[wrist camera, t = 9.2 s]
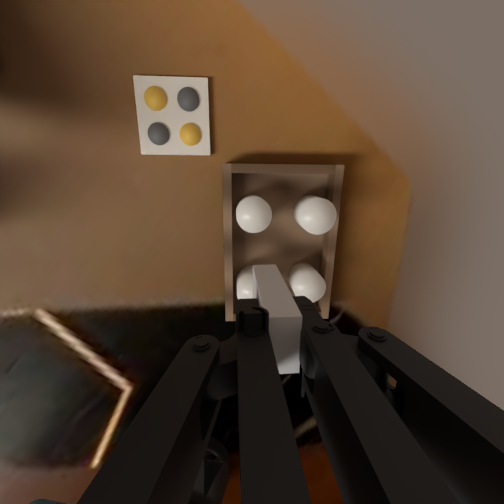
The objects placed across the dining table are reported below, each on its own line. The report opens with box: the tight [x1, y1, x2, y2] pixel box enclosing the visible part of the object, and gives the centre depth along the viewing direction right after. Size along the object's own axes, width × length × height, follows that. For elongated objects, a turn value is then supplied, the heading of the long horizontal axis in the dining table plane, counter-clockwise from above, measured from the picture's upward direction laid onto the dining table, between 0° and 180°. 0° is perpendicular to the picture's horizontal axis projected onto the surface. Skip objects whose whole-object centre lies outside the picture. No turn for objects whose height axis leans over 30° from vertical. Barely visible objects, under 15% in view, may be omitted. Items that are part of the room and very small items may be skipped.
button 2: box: [293, 195, 337, 235], centre depth 30 cm, size 4×4×4 cm
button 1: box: [288, 262, 326, 303], centre depth 34 cm, size 4×4×4 cm
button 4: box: [236, 194, 272, 233], centre depth 31 cm, size 4×4×4 cm
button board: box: [222, 164, 345, 321], centre depth 34 cm, size 20×14×3 cm
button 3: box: [237, 266, 253, 300], centre depth 32 cm, size 4×4×4 cm
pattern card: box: [133, 75, 211, 156], centre depth 30 cm, size 8×8×1 cm
